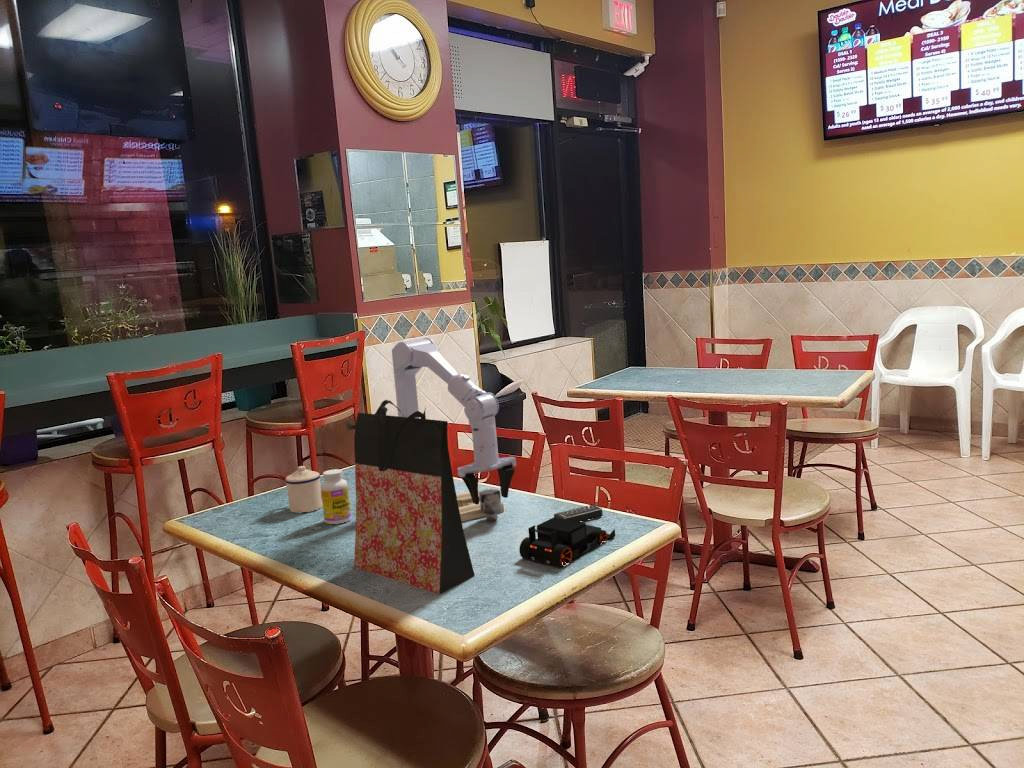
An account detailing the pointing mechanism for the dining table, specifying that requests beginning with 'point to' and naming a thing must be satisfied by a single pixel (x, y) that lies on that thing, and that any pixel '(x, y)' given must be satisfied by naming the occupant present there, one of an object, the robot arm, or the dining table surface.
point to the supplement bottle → (335, 497)
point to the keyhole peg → (490, 503)
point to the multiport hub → (580, 513)
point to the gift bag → (407, 502)
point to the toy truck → (561, 541)
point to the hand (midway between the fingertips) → (490, 500)
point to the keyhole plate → (470, 507)
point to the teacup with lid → (304, 490)
